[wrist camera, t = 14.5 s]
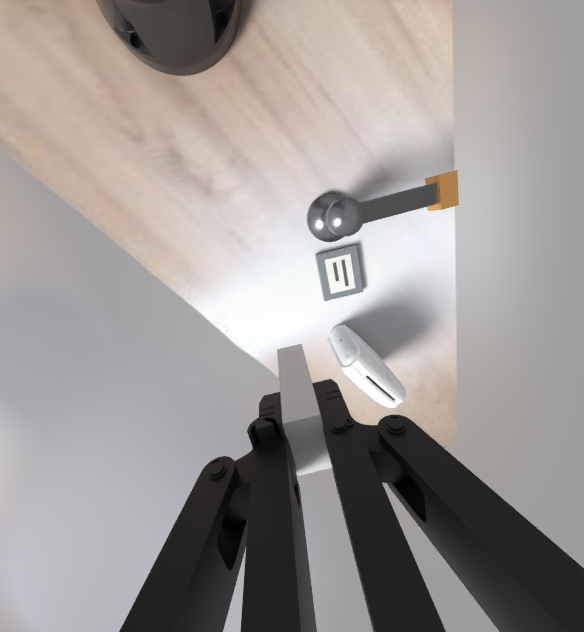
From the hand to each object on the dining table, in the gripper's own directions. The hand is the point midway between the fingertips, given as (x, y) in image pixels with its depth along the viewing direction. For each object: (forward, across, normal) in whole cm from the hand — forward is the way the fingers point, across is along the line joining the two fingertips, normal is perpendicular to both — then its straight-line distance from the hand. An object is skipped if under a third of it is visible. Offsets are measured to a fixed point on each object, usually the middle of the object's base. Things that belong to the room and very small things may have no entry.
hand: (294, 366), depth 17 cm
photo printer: (+27, +9, -14) cm, 31 cm away
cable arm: (+20, +14, +7) cm, 25 cm away
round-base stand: (+26, +9, +7) cm, 29 cm away
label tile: (+26, +9, -1) cm, 28 cm away
